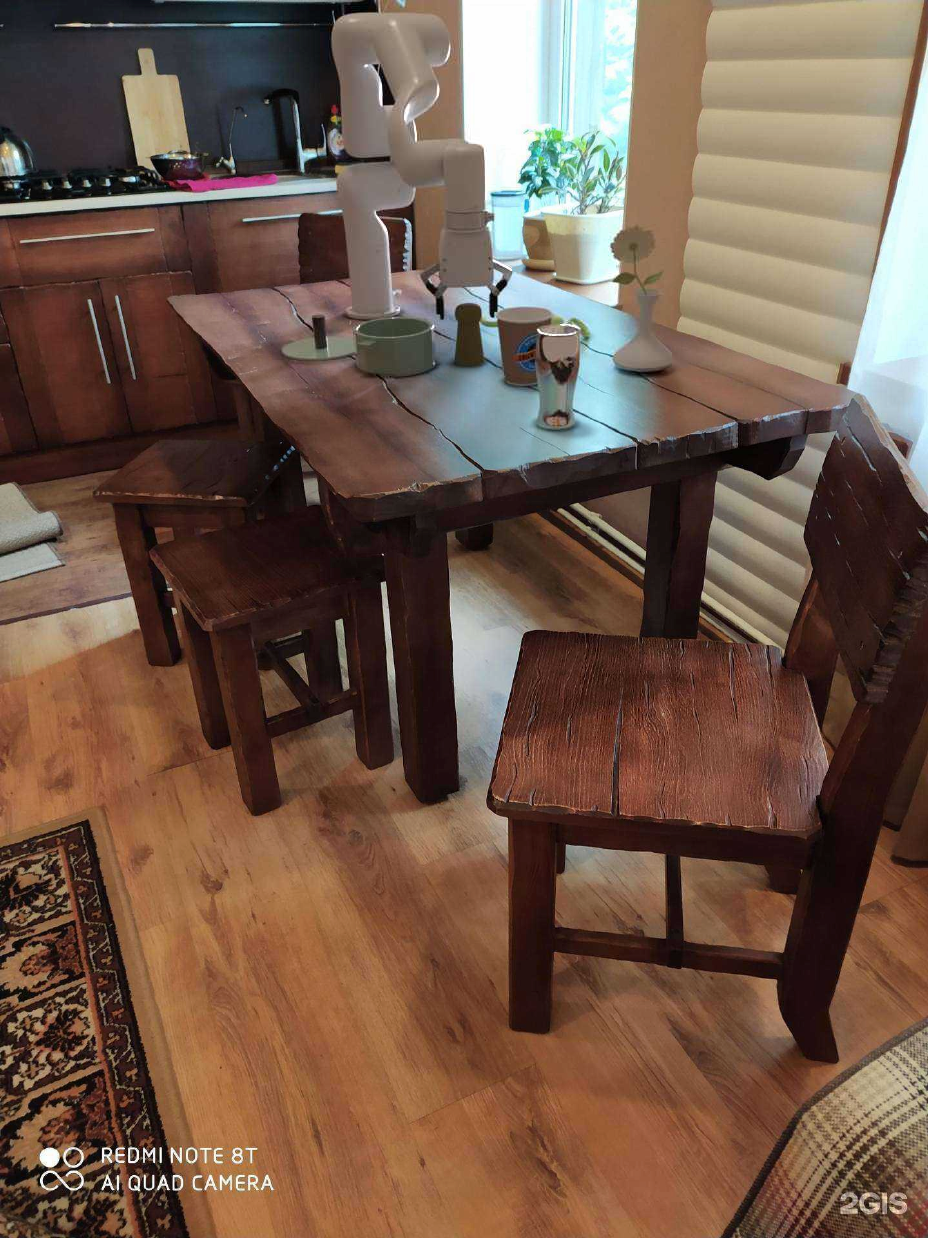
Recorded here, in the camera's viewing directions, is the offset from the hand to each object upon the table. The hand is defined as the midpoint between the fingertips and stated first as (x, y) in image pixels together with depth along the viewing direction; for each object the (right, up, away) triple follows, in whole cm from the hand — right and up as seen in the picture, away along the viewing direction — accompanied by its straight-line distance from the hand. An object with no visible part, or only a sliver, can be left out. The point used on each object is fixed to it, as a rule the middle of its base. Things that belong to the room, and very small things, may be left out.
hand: (466, 316), depth 172 cm
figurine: (+12, 0, +15) cm, 19 cm away
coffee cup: (+10, -14, -7) cm, 19 cm away
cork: (0, -8, +4) cm, 9 cm away
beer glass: (+14, -26, -26) cm, 40 cm away
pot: (-14, -8, +4) cm, 17 cm away
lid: (-30, -2, +12) cm, 32 cm away
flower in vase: (+32, -11, -2) cm, 34 cm away
